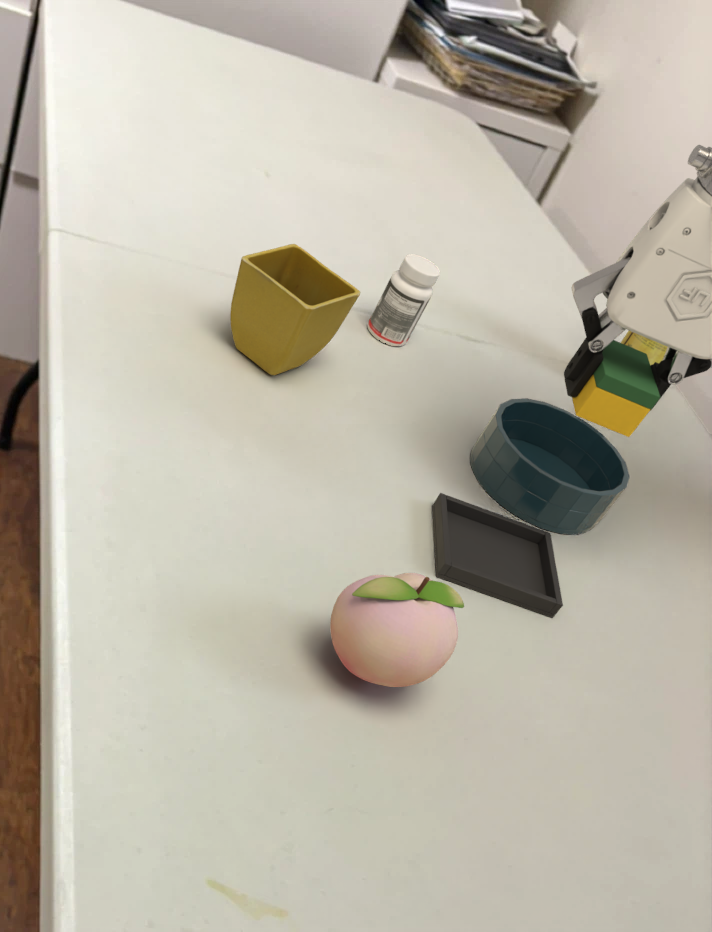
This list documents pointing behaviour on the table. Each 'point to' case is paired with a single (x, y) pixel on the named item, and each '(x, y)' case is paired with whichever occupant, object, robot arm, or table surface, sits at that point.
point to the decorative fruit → (395, 628)
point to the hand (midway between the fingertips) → (601, 398)
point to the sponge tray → (495, 555)
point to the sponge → (618, 390)
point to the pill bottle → (403, 300)
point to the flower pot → (287, 307)
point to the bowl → (548, 466)
